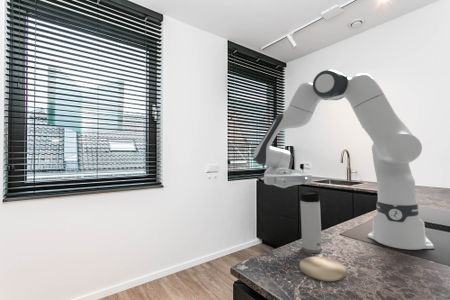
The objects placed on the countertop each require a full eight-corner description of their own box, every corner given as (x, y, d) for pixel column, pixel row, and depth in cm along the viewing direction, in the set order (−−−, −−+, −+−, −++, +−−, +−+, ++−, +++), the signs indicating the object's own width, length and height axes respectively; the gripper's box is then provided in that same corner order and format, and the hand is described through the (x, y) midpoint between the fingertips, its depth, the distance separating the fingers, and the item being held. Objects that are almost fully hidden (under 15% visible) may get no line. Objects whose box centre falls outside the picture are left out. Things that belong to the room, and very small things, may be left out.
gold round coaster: (308, 256, 73) (308, 253, 73) (350, 267, 66) (350, 263, 66) (292, 271, 64) (292, 268, 64) (339, 286, 56) (339, 282, 56)
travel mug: (324, 254, 75) (322, 192, 75) (303, 253, 76) (301, 192, 77) (320, 246, 81) (318, 189, 82) (301, 245, 82) (298, 189, 83)
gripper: (259, 171, 103) (269, 173, 89) (303, 170, 105) (319, 172, 92) (259, 185, 102) (270, 190, 89) (303, 183, 105) (319, 187, 91)
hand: (295, 180), depth 90 cm, fingers open, 8 cm apart
